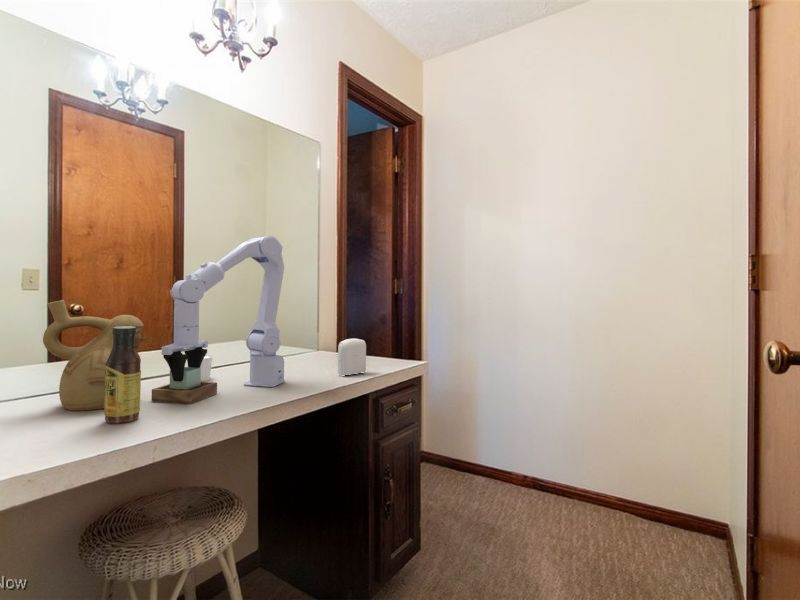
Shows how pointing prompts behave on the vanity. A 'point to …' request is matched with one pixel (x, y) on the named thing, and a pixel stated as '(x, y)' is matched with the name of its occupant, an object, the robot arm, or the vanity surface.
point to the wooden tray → (184, 393)
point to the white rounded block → (206, 368)
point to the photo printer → (351, 356)
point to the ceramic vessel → (85, 356)
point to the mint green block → (187, 379)
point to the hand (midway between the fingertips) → (185, 378)
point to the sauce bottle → (122, 378)
